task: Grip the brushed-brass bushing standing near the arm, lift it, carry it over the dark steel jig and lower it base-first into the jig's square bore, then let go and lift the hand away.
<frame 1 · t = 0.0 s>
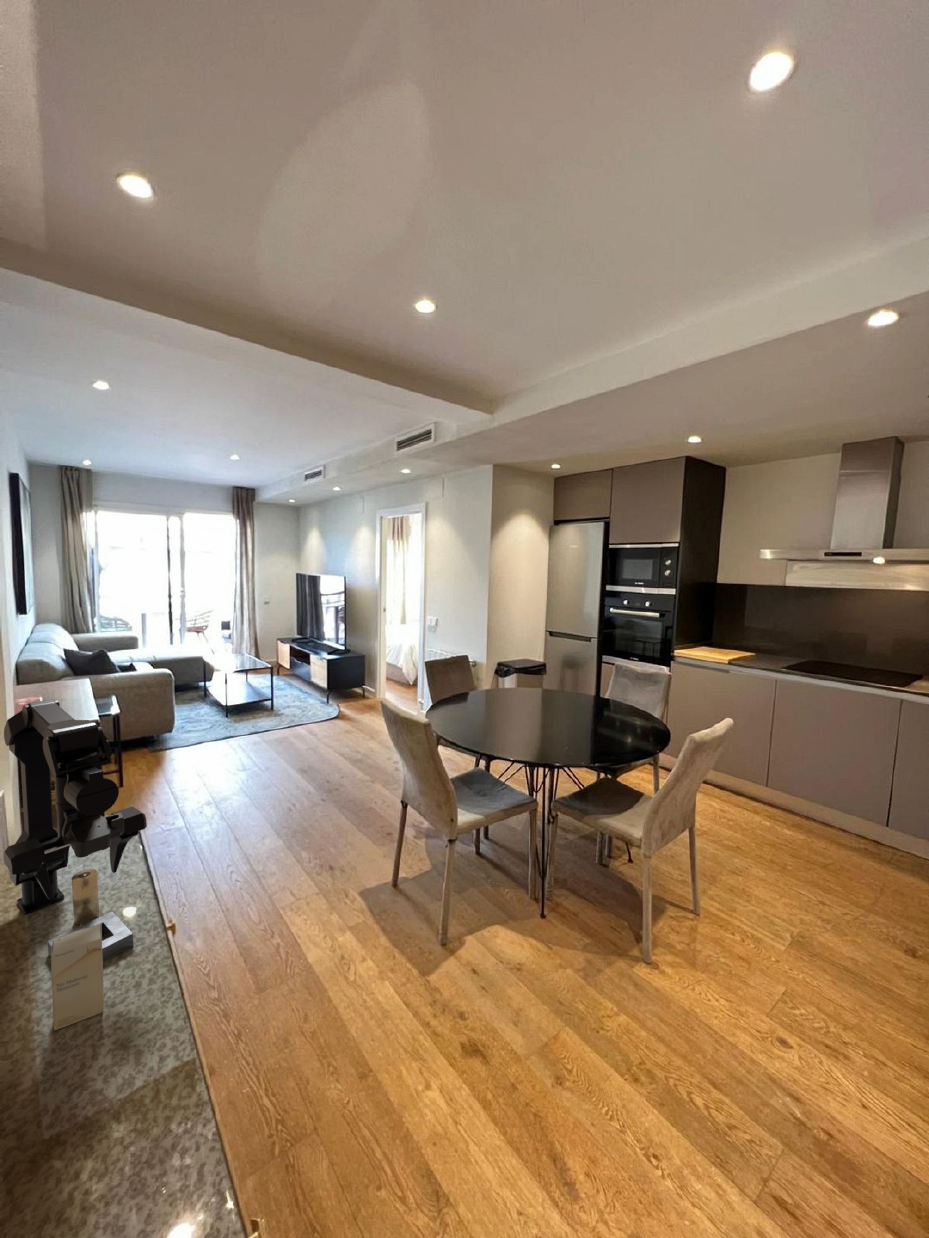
hand: (83, 884, 86), 15 cm above the kitchen counter, fingers open, 9 cm apart
bushing: (87, 917, 99), on the kitchen counter
skincare box: (80, 1012, 78), on the kitchen counter
jig: (91, 949, 91), on the kitchen counter
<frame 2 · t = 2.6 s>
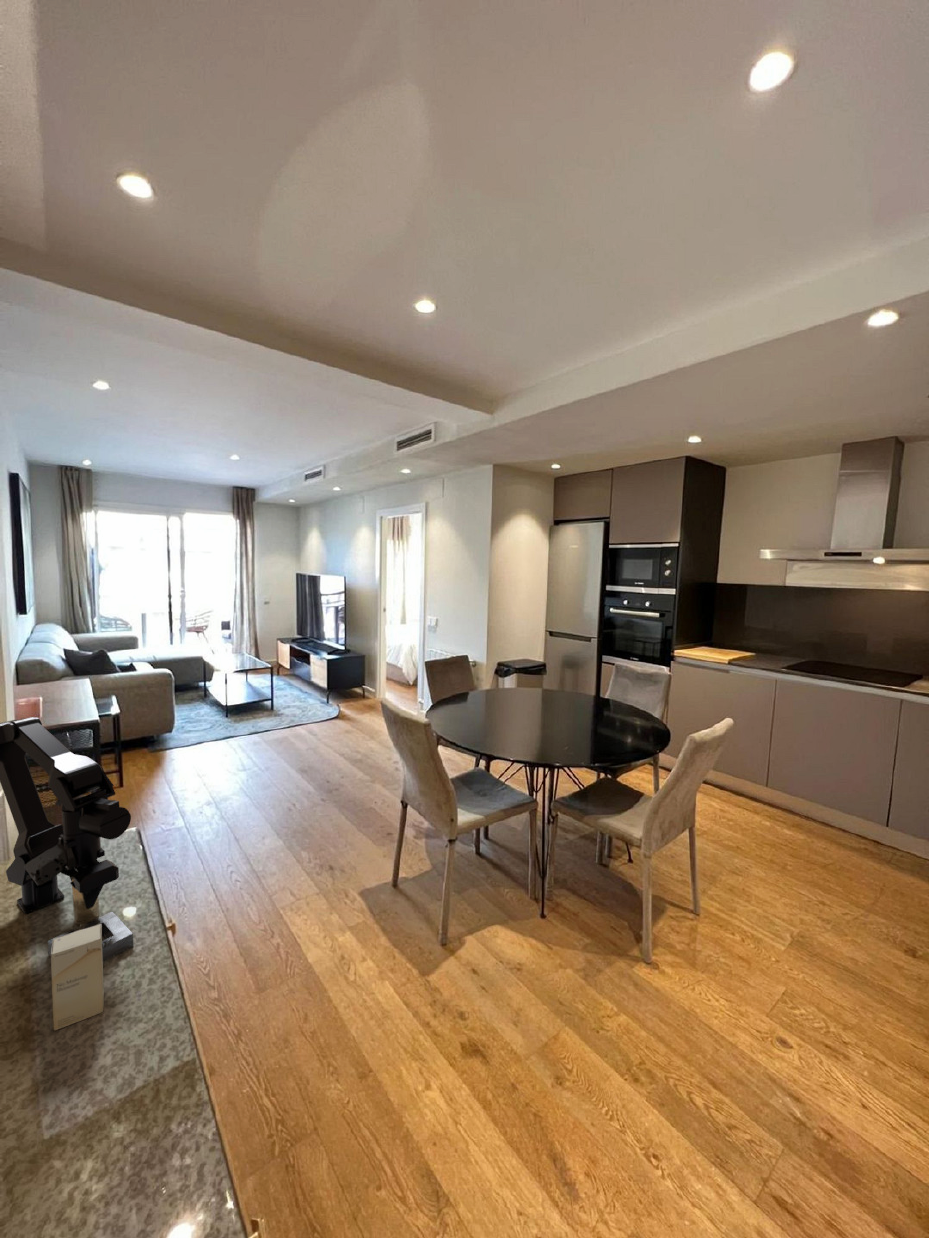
hand: (86, 903, 99), 3 cm above the kitchen counter, fingers closed on bushing, 4 cm apart
bushing: (87, 917, 99), on the kitchen counter, touching gripper
everything else where it was.
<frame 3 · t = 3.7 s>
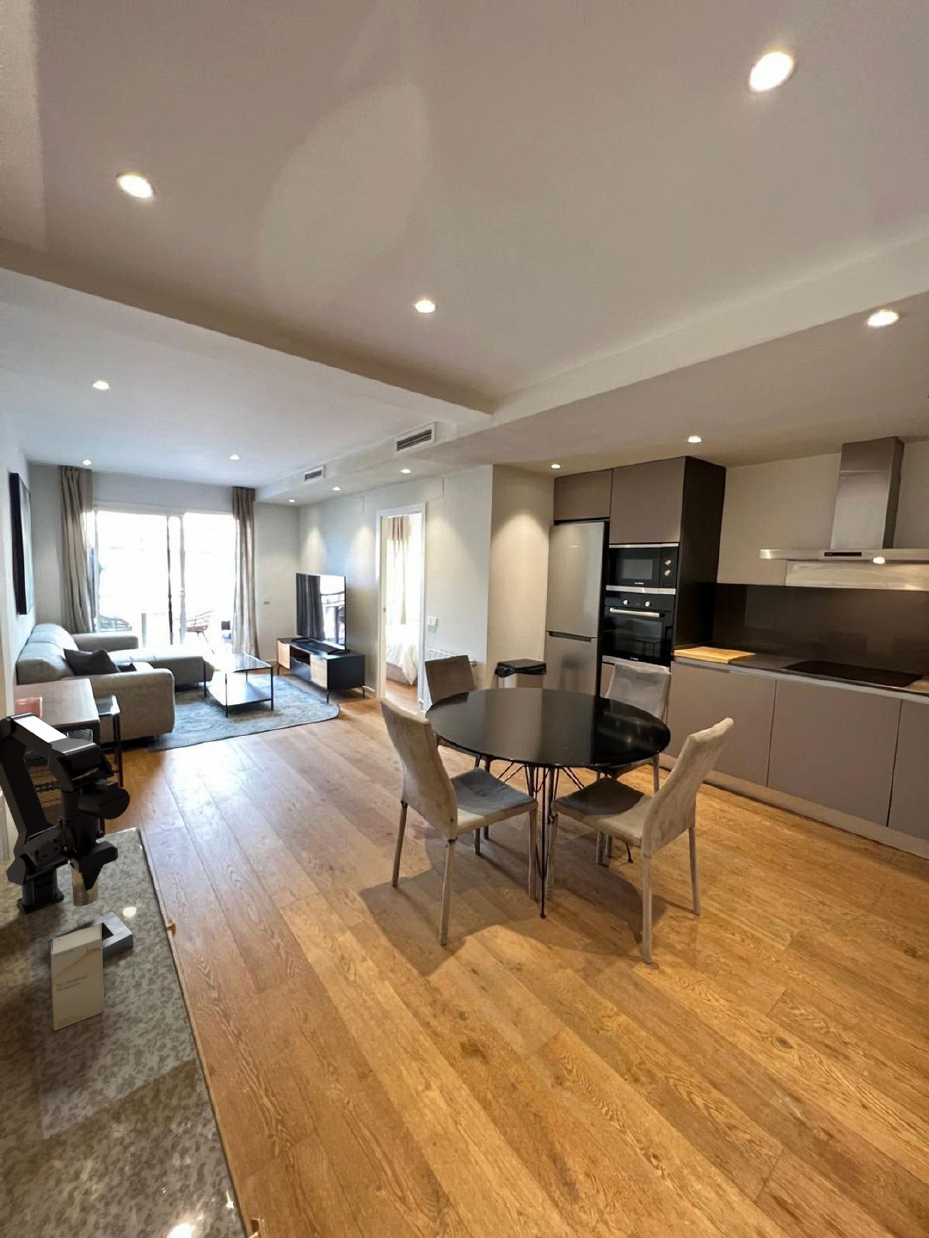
hand: (85, 885, 99), 7 cm above the kitchen counter, fingers closed on bushing, 4 cm apart
bushing: (86, 899, 99), point 4 cm above the kitchen counter, touching gripper
everything else where it was.
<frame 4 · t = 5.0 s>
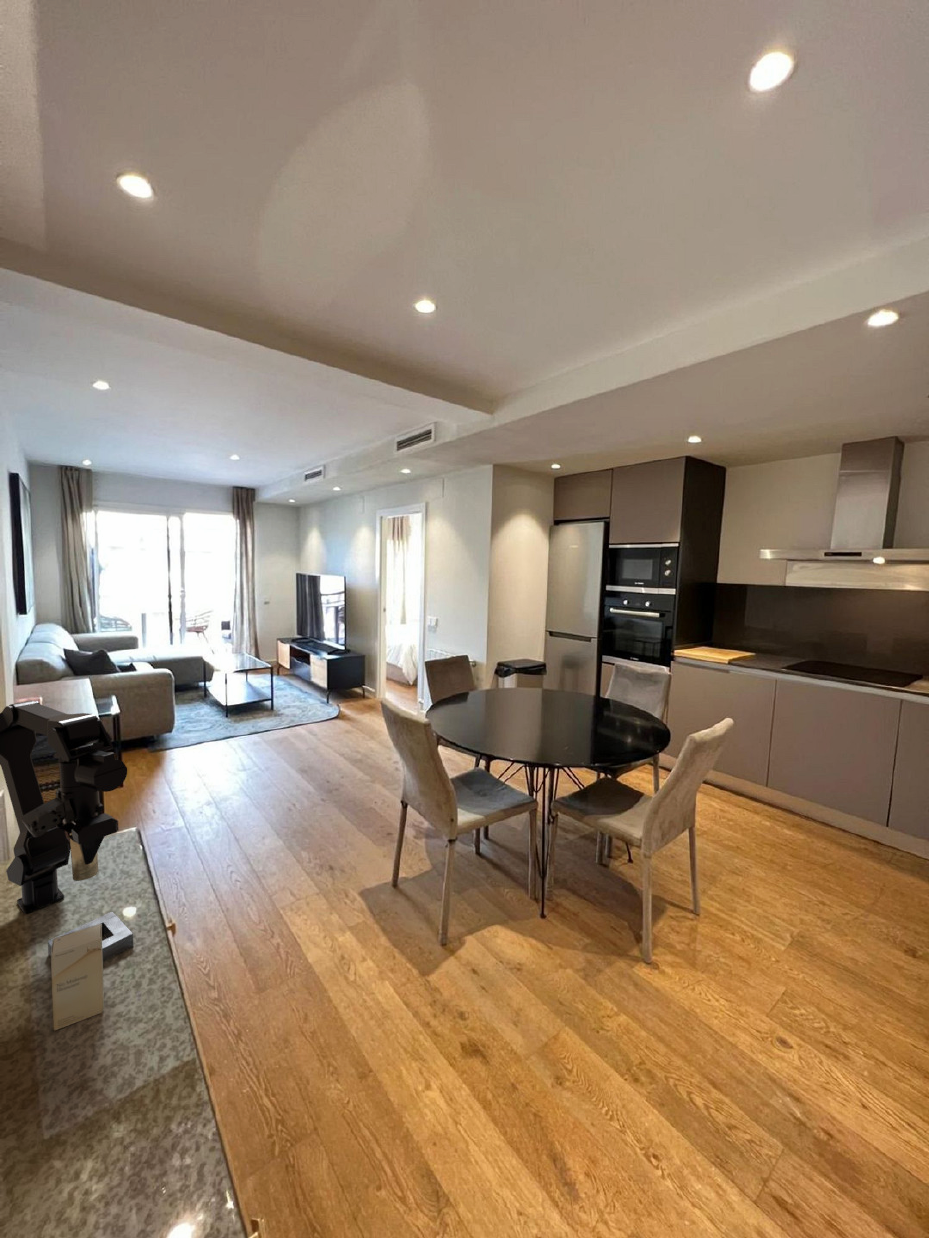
hand: (84, 859, 96), 13 cm above the kitchen counter, fingers closed on bushing, 4 cm apart
bushing: (85, 874, 97), point 10 cm above the kitchen counter, touching gripper
everything else where it was.
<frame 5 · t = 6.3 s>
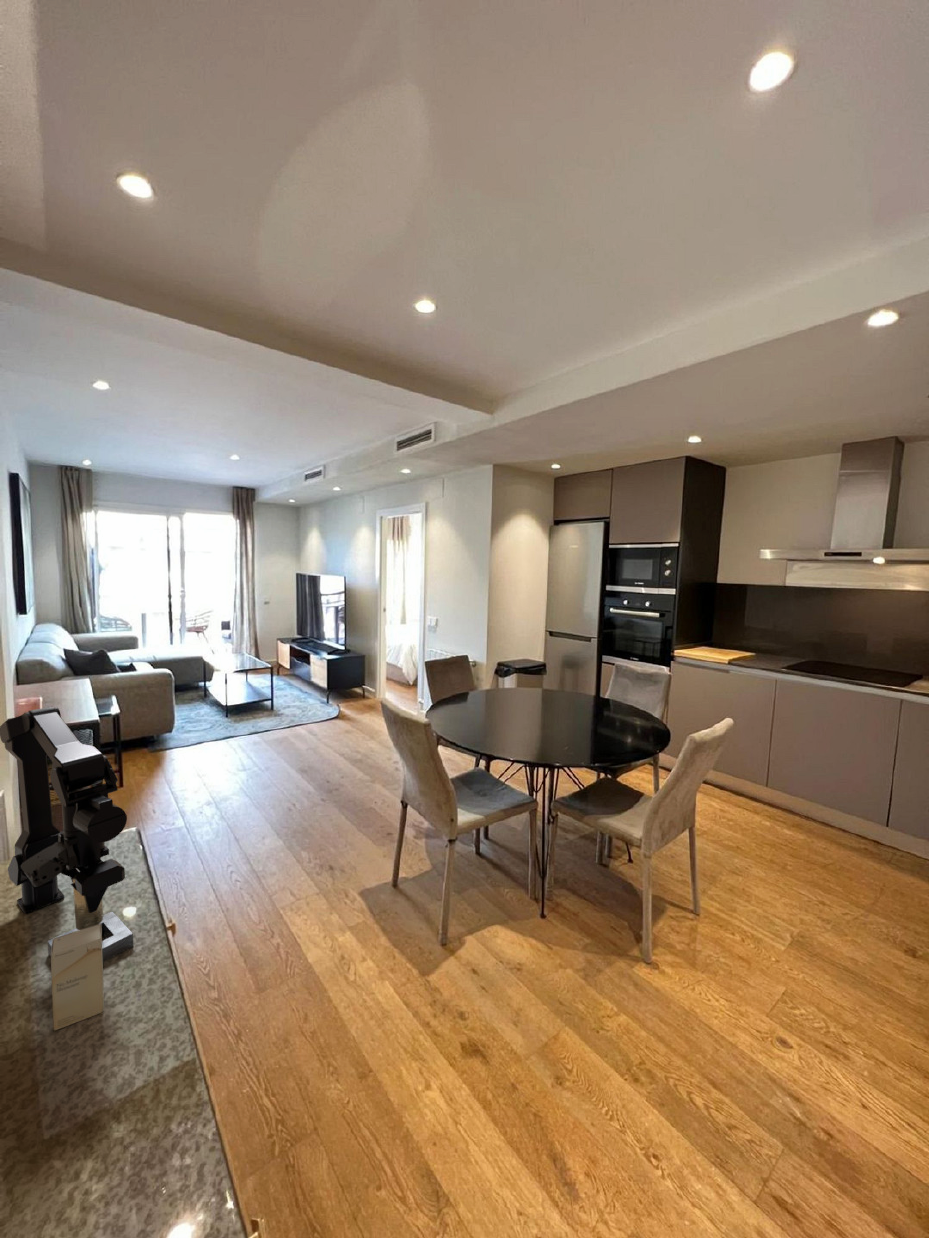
hand: (88, 906, 90), 8 cm above the kitchen counter, fingers closed on bushing, 4 cm apart
bushing: (89, 922, 90), point 5 cm above the kitchen counter, touching gripper
everything else where it was.
when the fingers open (3 cm above the kitchen counter, at t = 7.6 s): bushing stays where it is, resting in jig.
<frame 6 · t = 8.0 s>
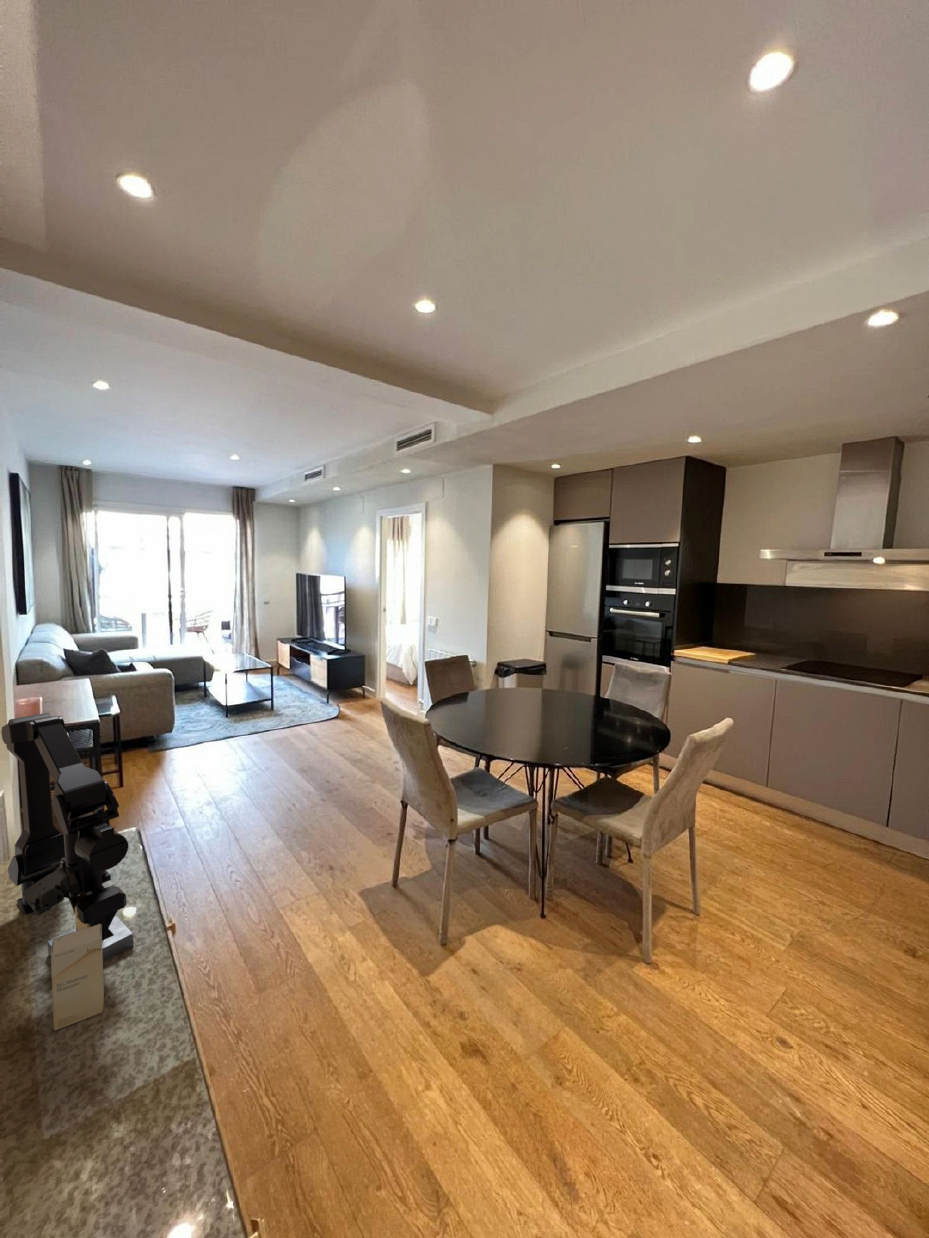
hand: (90, 932, 90), 3 cm above the kitchen counter, fingers open, 8 cm apart
bushing: (91, 949, 91), resting in jig
everything else where it was.
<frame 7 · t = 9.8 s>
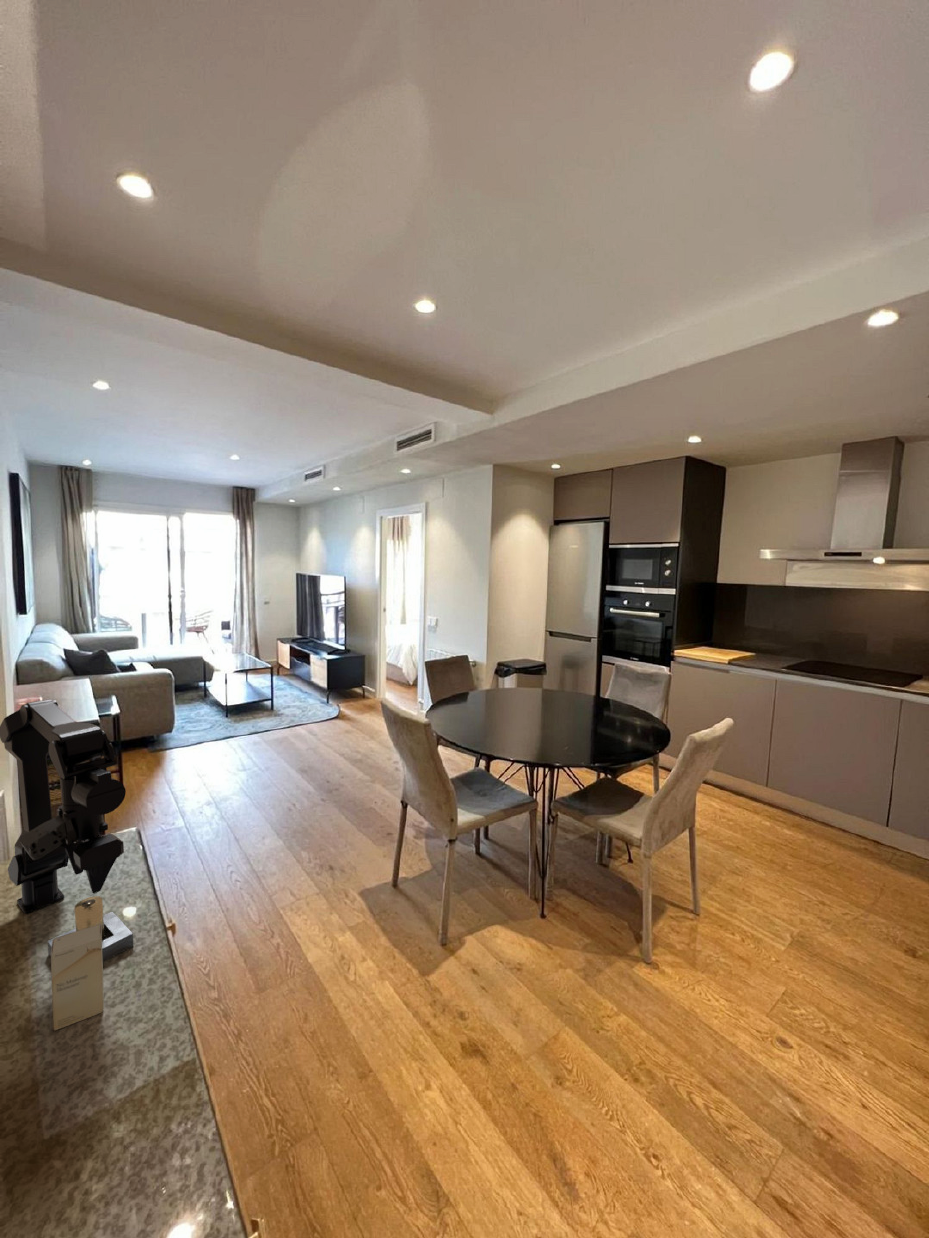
hand: (87, 882, 90), 13 cm above the kitchen counter, fingers open, 9 cm apart
nothing on the kitchen counter moved.
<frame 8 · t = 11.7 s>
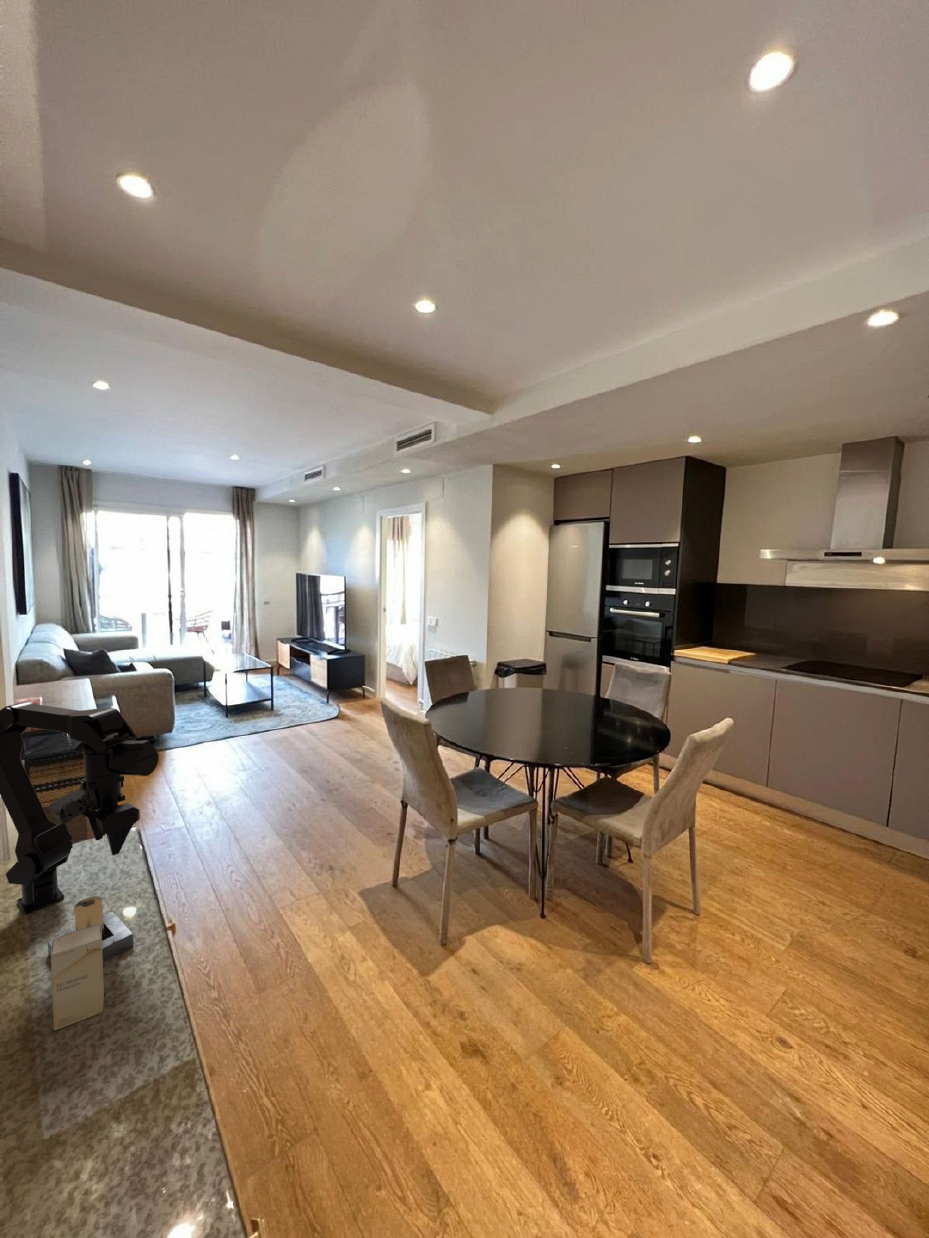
hand: (107, 846, 101), 13 cm above the kitchen counter, fingers open, 9 cm apart
nothing on the kitchen counter moved.
at the end: bushing 0.1 cm off-centre on the jig, point 0.0 cm above the jig's base; bushing tilted 1°; the gripper is holding nothing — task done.
